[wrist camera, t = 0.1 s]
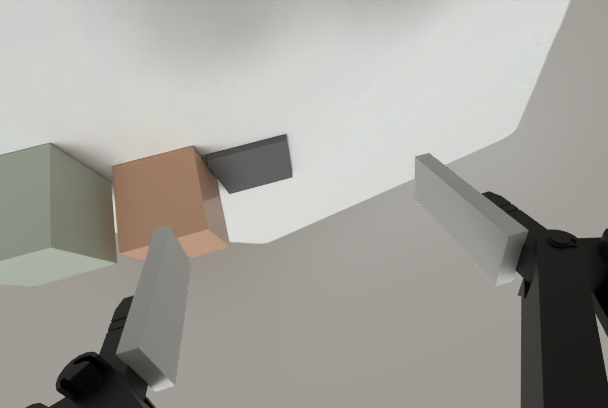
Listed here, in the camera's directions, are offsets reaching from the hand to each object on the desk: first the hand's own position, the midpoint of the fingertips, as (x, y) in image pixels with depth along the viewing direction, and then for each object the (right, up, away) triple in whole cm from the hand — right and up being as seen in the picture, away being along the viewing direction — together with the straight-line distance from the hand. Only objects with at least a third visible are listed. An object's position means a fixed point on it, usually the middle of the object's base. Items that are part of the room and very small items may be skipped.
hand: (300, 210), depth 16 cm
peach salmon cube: (-16, +4, +22) cm, 28 cm away
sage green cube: (-27, +3, +16) cm, 32 cm away
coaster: (-7, +6, +26) cm, 28 cm away
